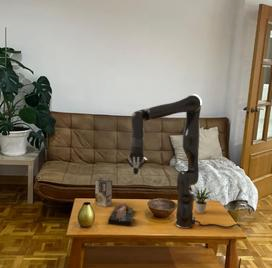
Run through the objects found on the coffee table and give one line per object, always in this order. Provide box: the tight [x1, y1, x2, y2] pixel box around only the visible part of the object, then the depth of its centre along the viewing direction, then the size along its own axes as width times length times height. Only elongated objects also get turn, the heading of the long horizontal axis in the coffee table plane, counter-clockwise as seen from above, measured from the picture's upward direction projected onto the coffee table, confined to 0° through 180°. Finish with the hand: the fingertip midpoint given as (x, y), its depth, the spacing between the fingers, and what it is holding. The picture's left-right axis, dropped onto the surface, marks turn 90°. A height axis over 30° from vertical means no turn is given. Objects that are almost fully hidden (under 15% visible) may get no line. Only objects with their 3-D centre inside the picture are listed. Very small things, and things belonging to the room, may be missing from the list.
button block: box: [112, 204, 134, 215], centre depth 223 cm, size 11×9×4 cm
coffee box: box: [94, 177, 113, 208], centre depth 234 cm, size 9×6×16 cm
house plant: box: [194, 186, 212, 214], centre depth 229 cm, size 14×14×16 cm
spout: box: [117, 206, 126, 220], centre depth 209 cm, size 8×2×5 cm, turn 158°
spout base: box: [107, 212, 135, 227], centre depth 210 cm, size 13×12×3 cm
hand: (135, 173), depth 212 cm, fingers closed
